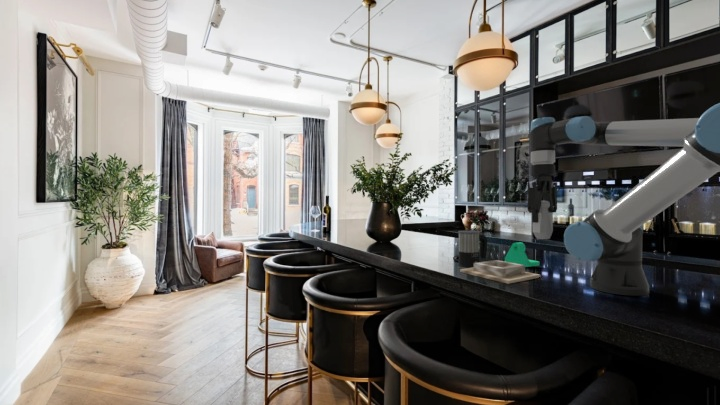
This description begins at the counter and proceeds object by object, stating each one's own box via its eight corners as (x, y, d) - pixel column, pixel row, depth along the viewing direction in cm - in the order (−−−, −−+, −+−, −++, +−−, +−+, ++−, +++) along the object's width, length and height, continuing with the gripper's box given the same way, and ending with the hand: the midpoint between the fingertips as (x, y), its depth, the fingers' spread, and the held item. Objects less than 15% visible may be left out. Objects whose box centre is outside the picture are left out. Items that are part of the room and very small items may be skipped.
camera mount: (540, 268, 147) (540, 243, 147) (527, 269, 144) (527, 244, 144) (517, 263, 158) (517, 240, 158) (504, 264, 155) (504, 241, 155)
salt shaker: (544, 239, 117) (544, 200, 117) (529, 238, 122) (529, 200, 122) (555, 238, 120) (556, 200, 120) (540, 237, 125) (540, 200, 125)
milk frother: (472, 268, 146) (472, 232, 146) (440, 263, 158) (440, 230, 158) (490, 264, 155) (490, 230, 155) (459, 259, 167) (459, 228, 167)
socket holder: (540, 277, 130) (540, 266, 129) (508, 283, 120) (508, 272, 120) (490, 267, 148) (491, 257, 148) (460, 272, 139) (460, 261, 139)
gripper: (548, 166, 129) (548, 229, 129) (515, 163, 119) (515, 232, 120) (569, 164, 122) (569, 231, 123) (536, 161, 113) (536, 234, 113)
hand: (542, 231), depth 121 cm, fingers closed on salt shaker, 6 cm apart
